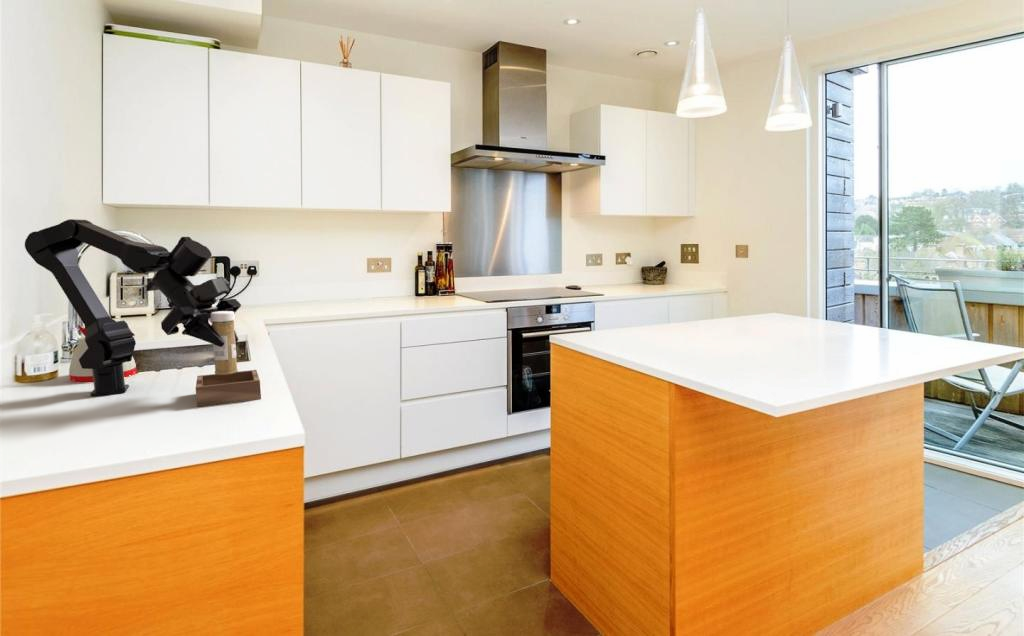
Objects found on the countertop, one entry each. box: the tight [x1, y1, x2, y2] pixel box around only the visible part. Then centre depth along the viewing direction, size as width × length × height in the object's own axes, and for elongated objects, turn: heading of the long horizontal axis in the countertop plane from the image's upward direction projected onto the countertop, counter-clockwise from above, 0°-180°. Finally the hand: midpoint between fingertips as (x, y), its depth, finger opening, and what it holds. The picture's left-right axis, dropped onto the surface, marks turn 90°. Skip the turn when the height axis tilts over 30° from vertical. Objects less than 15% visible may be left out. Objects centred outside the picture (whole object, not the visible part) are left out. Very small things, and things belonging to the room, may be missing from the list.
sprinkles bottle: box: [211, 311, 239, 375], centre depth 124 cm, size 5×5×13 cm
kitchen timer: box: [68, 324, 138, 383], centre depth 145 cm, size 14×14×15 cm
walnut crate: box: [195, 369, 262, 408], centre depth 125 cm, size 12×12×4 cm
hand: (230, 343), depth 123 cm, fingers closed on sprinkles bottle, 4 cm apart
